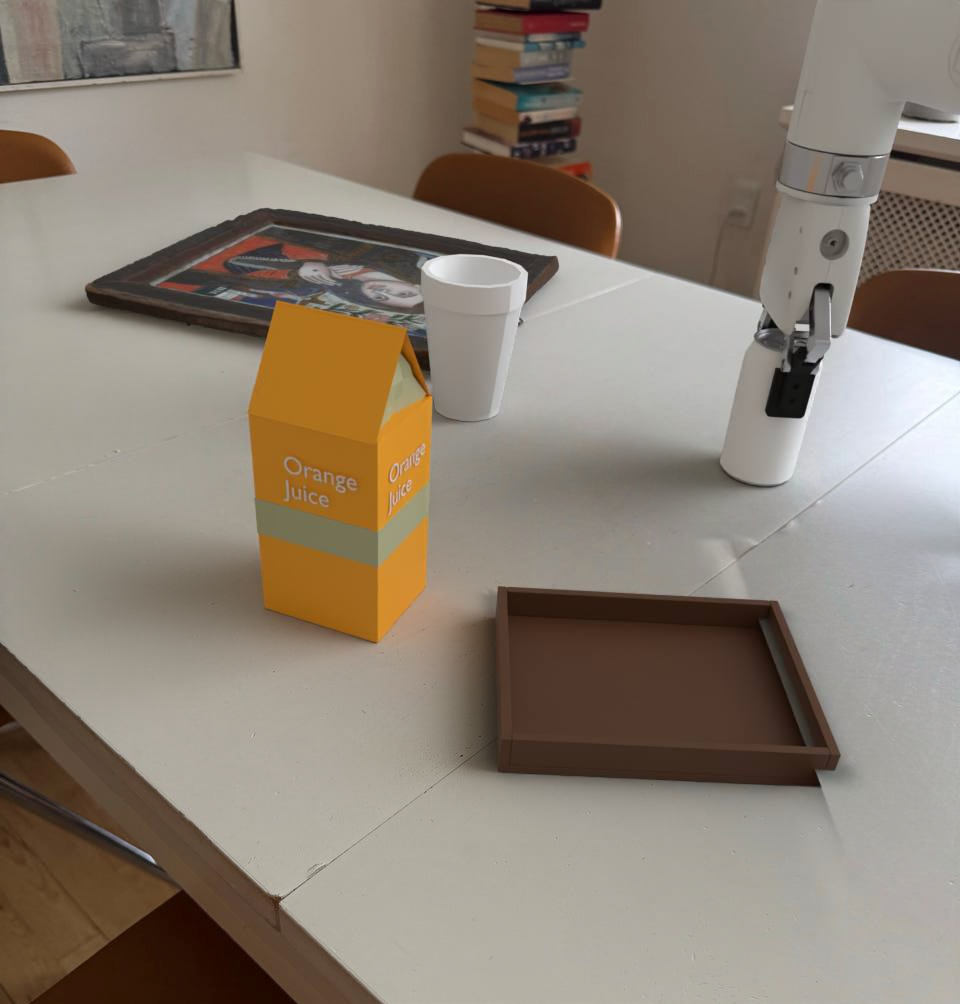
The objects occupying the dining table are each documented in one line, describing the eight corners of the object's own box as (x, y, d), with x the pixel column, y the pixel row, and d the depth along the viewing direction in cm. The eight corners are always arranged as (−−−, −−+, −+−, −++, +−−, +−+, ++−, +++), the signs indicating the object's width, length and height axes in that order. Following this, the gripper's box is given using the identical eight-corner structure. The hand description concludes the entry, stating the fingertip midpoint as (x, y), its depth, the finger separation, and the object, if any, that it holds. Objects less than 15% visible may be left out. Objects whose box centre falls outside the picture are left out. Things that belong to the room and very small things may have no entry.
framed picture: (466, 387, 100) (468, 357, 98) (83, 312, 110) (78, 284, 108) (568, 276, 131) (570, 252, 129) (261, 225, 141) (259, 202, 139)
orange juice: (319, 554, 74) (308, 282, 62) (427, 586, 72) (437, 308, 60) (262, 609, 68) (237, 319, 56) (377, 645, 66) (377, 351, 54)
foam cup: (457, 379, 102) (464, 248, 94) (533, 406, 98) (547, 270, 90) (398, 408, 95) (400, 269, 87) (477, 437, 91) (486, 295, 84)
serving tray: (768, 630, 70) (777, 600, 68) (828, 787, 58) (841, 754, 56) (495, 616, 69) (497, 585, 68) (497, 772, 57) (501, 738, 56)
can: (710, 454, 92) (738, 325, 84) (777, 454, 92) (811, 326, 85) (731, 488, 86) (763, 354, 79) (802, 488, 87) (841, 355, 80)
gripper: (920, 205, 68) (846, 446, 79) (846, 151, 82) (791, 362, 92) (811, 198, 67) (751, 440, 78) (755, 144, 81) (711, 357, 92)
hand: (773, 396), depth 85 cm, fingers closed on can, 6 cm apart
